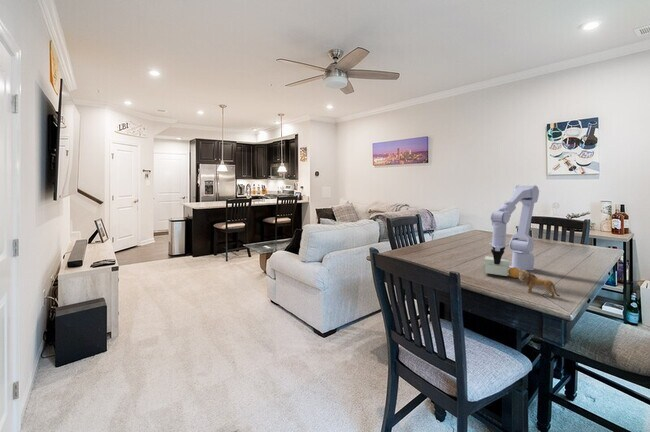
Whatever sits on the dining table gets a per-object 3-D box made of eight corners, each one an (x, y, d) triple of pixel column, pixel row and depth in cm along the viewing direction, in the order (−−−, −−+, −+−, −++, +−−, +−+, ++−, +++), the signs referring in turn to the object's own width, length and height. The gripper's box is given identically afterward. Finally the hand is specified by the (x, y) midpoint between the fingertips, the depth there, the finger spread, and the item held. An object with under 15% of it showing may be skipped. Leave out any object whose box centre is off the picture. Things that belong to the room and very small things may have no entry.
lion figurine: (516, 291, 133) (518, 270, 132) (518, 288, 137) (519, 268, 136) (559, 299, 123) (561, 277, 122) (560, 295, 128) (562, 274, 127)
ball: (514, 275, 154) (516, 266, 153) (521, 279, 149) (523, 269, 148) (505, 275, 153) (507, 265, 153) (511, 279, 148) (513, 269, 148)
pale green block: (483, 272, 154) (484, 259, 154) (485, 268, 161) (486, 255, 160) (507, 276, 149) (509, 262, 148) (508, 271, 155) (509, 258, 155)
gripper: (491, 232, 161) (489, 258, 162) (488, 237, 148) (487, 264, 150) (506, 233, 157) (505, 260, 159) (505, 238, 145) (503, 267, 146)
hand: (497, 262), depth 154 cm, fingers closed on pale green block, 6 cm apart
